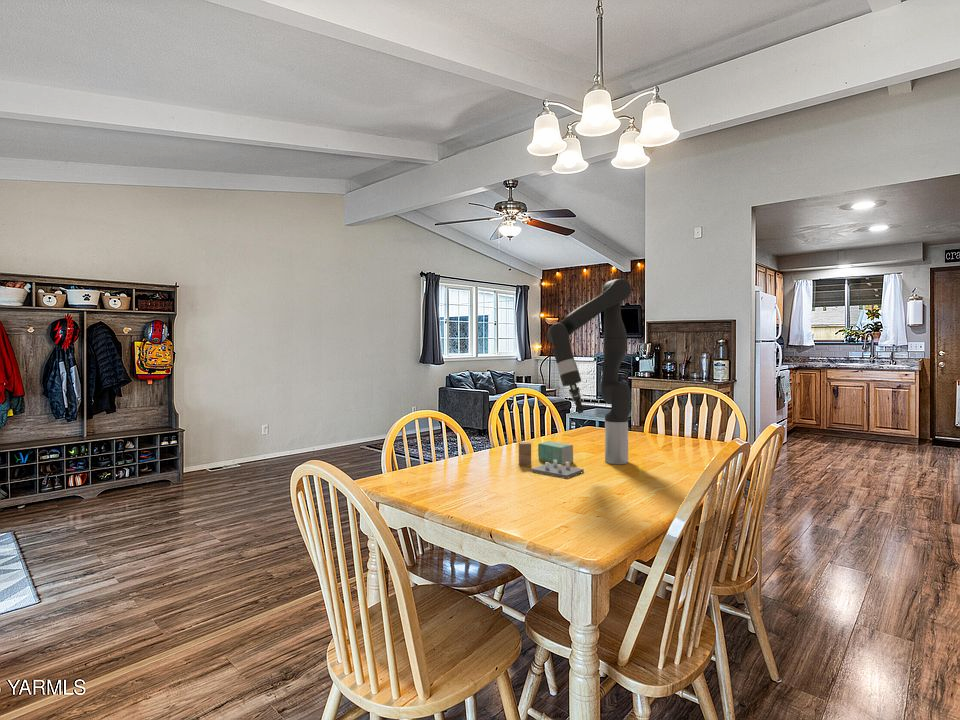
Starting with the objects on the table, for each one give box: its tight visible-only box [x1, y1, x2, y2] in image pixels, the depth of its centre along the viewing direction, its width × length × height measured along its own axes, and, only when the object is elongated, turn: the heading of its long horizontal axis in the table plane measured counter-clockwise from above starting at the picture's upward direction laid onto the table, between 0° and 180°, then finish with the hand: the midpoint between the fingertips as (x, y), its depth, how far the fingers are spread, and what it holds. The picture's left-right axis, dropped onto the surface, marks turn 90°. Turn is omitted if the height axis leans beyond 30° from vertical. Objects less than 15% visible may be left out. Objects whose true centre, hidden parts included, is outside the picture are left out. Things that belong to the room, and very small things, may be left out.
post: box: [518, 441, 532, 467], centre depth 221 cm, size 4×4×9 cm
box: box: [537, 440, 574, 466], centre depth 227 cm, size 7×14×8 cm, turn 40°
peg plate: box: [531, 460, 585, 479], centre depth 208 cm, size 12×16×4 cm
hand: (580, 412), depth 209 cm, fingers open, 8 cm apart
